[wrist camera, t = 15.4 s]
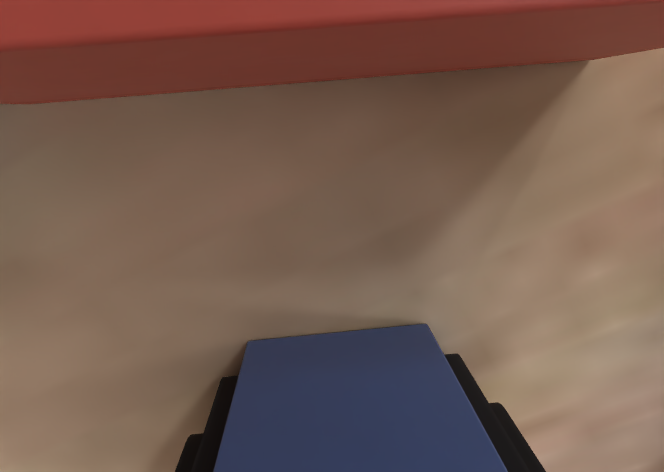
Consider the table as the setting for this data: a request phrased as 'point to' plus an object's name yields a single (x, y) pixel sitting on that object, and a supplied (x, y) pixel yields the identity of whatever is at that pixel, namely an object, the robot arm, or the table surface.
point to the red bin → (294, 41)
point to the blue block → (352, 407)
